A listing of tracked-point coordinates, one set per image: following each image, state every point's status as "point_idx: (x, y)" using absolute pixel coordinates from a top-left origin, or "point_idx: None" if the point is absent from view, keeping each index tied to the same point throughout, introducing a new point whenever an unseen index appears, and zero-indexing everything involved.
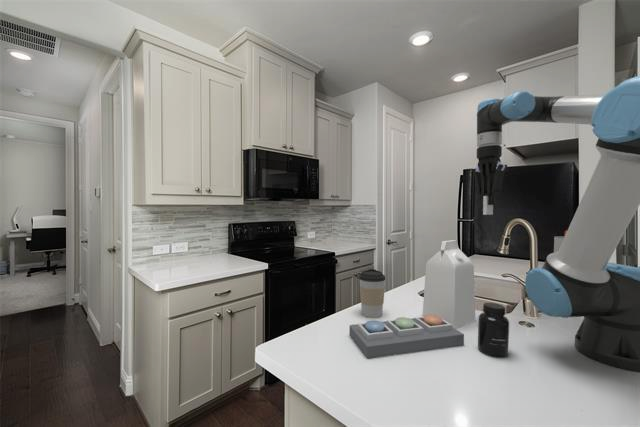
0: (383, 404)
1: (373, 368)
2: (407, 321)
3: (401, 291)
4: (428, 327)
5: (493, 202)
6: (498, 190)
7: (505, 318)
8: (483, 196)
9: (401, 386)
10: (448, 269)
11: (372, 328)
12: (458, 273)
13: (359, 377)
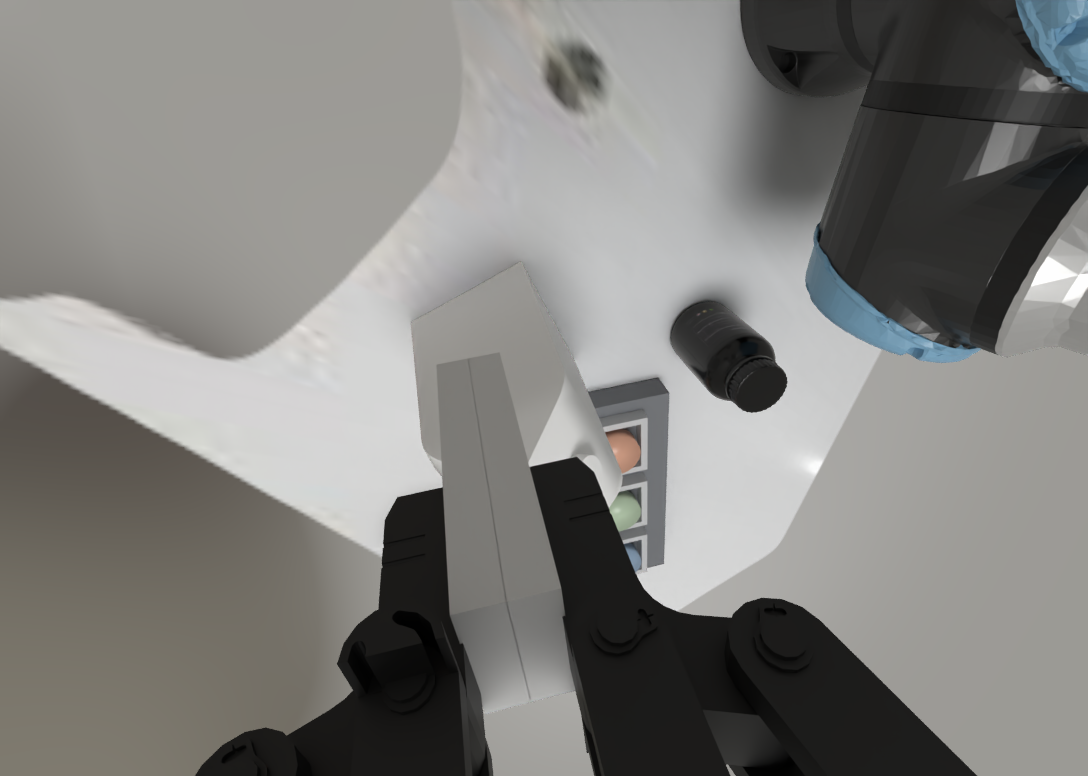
0: (759, 536)
1: (684, 540)
2: (624, 512)
3: (161, 405)
4: (643, 469)
5: (598, 498)
6: (831, 691)
7: (769, 355)
8: (487, 701)
9: (737, 513)
10: None
11: (636, 569)
12: (609, 448)
13: (699, 556)
